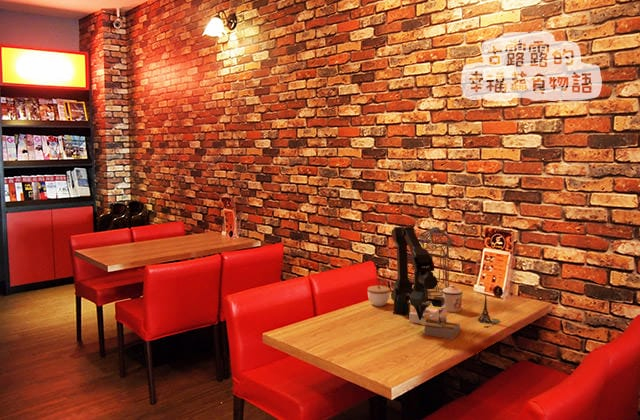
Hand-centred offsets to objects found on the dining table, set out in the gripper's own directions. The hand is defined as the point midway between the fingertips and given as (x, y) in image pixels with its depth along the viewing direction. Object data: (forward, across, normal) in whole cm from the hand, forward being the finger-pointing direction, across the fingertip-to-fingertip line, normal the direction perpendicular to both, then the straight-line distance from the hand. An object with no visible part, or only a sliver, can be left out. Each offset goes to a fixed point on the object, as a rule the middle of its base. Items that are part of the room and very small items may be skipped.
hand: (420, 319), depth 224 cm
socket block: (+4, +9, 0) cm, 10 cm away
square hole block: (+4, -2, +12) cm, 13 cm away
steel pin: (+4, +9, 0) cm, 10 cm away
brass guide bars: (+1, +8, 0) cm, 8 cm away
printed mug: (+4, +6, +34) cm, 35 cm away
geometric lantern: (+4, -8, +54) cm, 55 cm away
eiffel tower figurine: (+5, +23, +22) cm, 32 cm away
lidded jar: (+4, -28, +26) cm, 38 cm away
